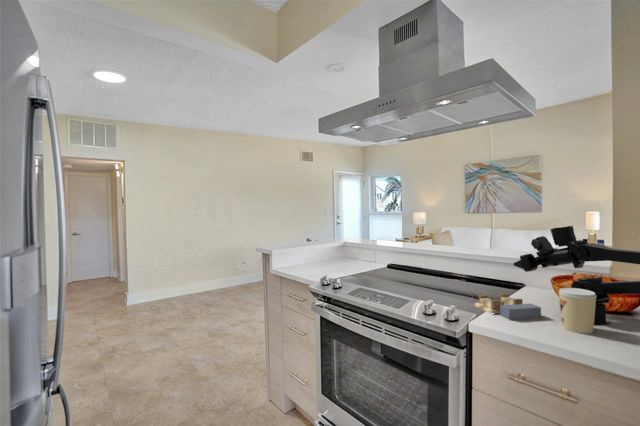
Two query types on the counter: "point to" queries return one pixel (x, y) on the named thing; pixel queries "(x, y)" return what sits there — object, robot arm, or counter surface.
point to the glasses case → (520, 311)
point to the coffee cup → (577, 309)
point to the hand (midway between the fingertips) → (521, 262)
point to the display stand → (495, 303)
